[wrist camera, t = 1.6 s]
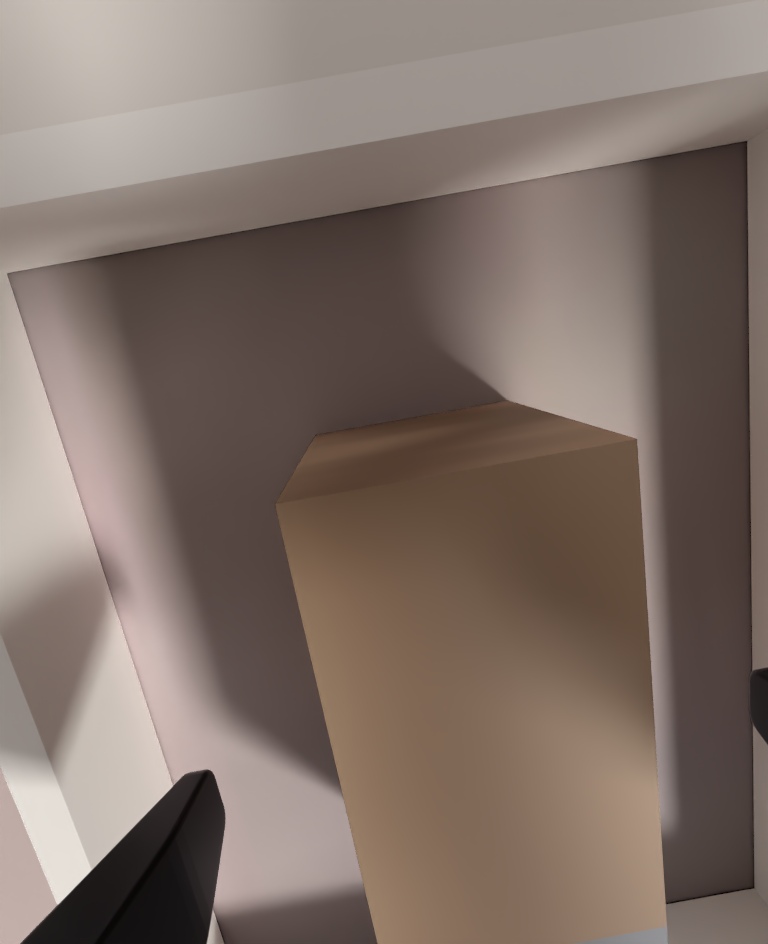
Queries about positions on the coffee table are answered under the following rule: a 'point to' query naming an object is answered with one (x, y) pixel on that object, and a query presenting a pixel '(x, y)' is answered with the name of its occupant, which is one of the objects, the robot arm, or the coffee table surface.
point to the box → (485, 673)
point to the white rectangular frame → (289, 200)
